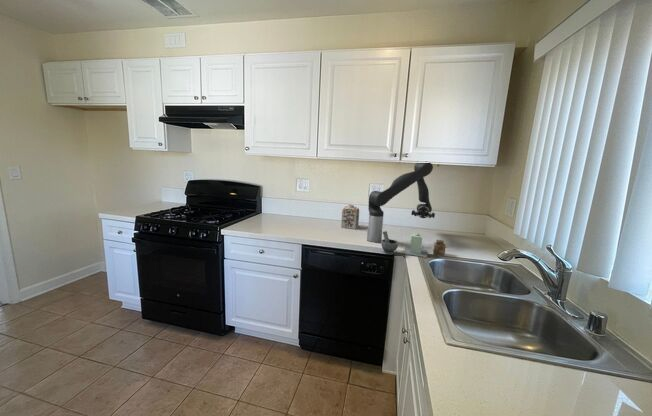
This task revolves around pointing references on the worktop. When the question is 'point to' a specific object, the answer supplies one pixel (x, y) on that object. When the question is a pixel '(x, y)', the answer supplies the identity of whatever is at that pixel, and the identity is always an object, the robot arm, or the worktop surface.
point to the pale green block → (416, 243)
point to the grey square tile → (423, 253)
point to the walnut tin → (439, 248)
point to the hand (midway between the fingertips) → (422, 215)
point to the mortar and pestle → (388, 244)
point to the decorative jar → (350, 217)
